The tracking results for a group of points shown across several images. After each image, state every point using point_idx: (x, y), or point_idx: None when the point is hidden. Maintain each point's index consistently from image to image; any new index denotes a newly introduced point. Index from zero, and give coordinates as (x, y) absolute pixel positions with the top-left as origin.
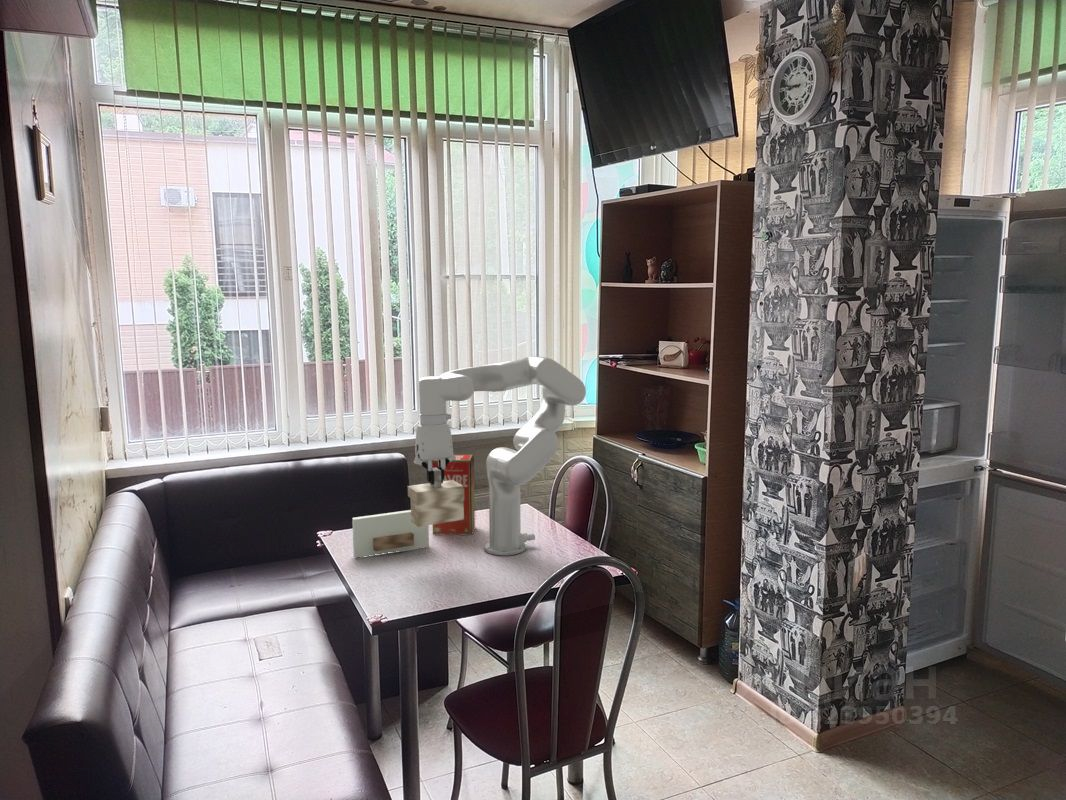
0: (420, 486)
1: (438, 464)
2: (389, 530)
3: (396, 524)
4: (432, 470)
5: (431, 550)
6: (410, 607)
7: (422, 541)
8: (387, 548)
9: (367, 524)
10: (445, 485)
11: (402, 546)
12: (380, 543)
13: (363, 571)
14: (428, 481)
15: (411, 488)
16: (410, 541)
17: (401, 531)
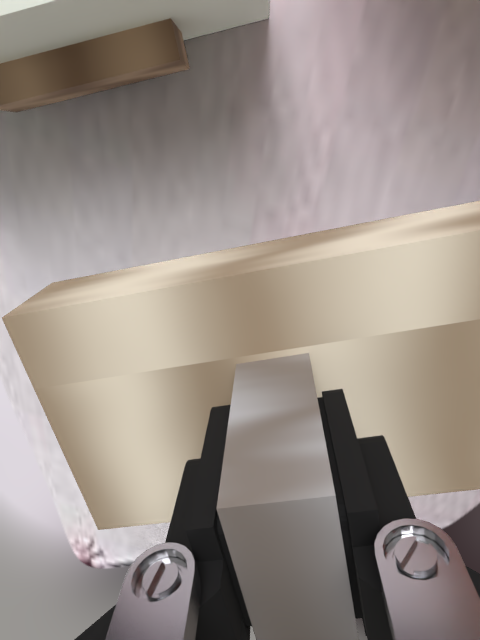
0: (135, 374)
1: (382, 591)
2: (39, 43)
3: (66, 26)
4: (241, 620)
5: (271, 77)
6: (155, 525)
7: (235, 18)
8: (66, 98)
9: None
10: (383, 418)
11: (135, 82)
12: (23, 103)
13: (6, 256)
14: (211, 411)
15: (49, 413)
16: (169, 70)
17: (111, 30)
